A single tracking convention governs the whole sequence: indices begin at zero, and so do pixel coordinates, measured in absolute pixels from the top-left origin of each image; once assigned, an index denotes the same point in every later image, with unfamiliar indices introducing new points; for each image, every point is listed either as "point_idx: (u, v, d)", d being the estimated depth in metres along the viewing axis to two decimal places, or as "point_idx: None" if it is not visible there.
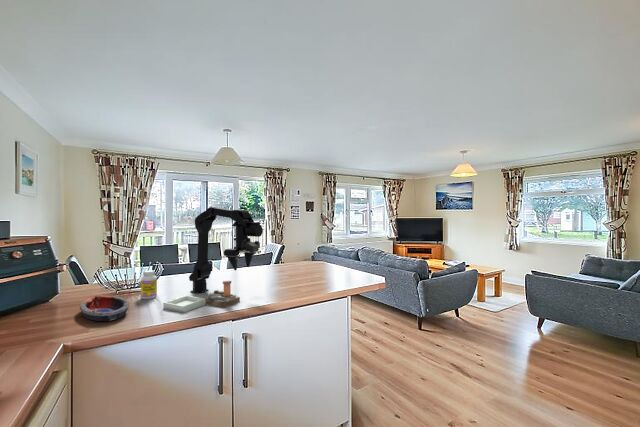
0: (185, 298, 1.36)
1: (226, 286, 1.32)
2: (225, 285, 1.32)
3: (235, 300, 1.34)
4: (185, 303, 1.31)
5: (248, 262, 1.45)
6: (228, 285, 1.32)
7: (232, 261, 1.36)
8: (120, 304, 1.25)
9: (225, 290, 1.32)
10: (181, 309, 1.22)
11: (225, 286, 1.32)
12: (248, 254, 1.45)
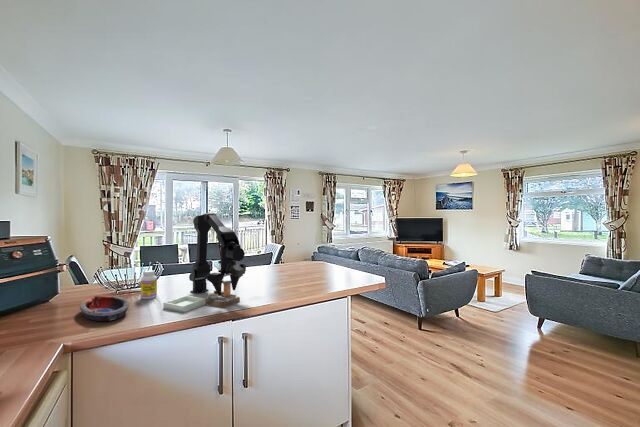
0: (185, 298, 1.36)
1: (226, 286, 1.32)
2: (225, 285, 1.32)
3: (235, 300, 1.34)
4: (185, 303, 1.31)
5: (234, 285, 1.37)
6: (228, 285, 1.32)
7: (216, 286, 1.28)
8: (120, 304, 1.25)
9: (225, 290, 1.32)
10: (181, 309, 1.22)
11: (225, 286, 1.32)
12: (234, 277, 1.38)
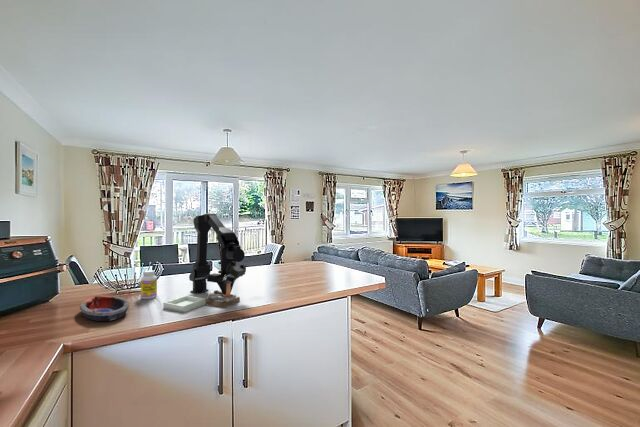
0: (185, 298, 1.36)
1: (226, 286, 1.32)
2: None
3: (235, 300, 1.34)
4: (185, 303, 1.31)
5: None
6: (228, 285, 1.32)
7: (221, 285, 1.31)
8: (120, 304, 1.25)
9: None
10: (181, 309, 1.22)
11: None
12: (230, 279, 1.35)
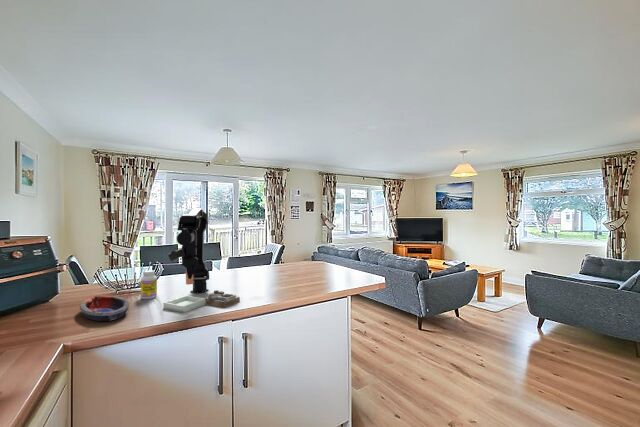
0: (185, 298, 1.36)
1: None
2: None
3: (235, 300, 1.34)
4: (185, 303, 1.31)
5: None
6: None
7: None
8: (120, 304, 1.25)
9: None
10: (181, 309, 1.22)
11: None
12: None
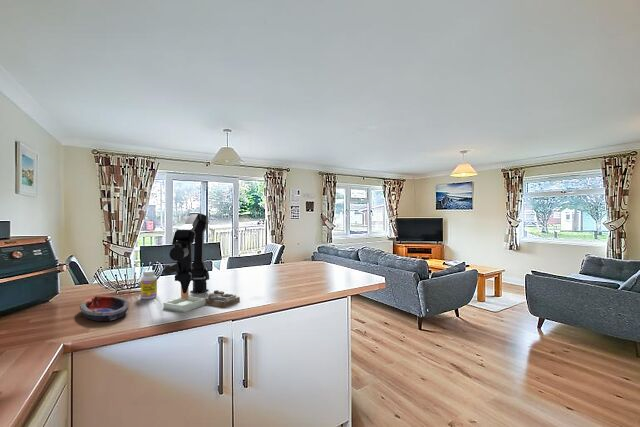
0: None
1: None
2: None
3: (235, 300, 1.34)
4: (185, 303, 1.31)
5: None
6: None
7: None
8: (120, 304, 1.25)
9: None
10: (181, 309, 1.22)
11: None
12: None
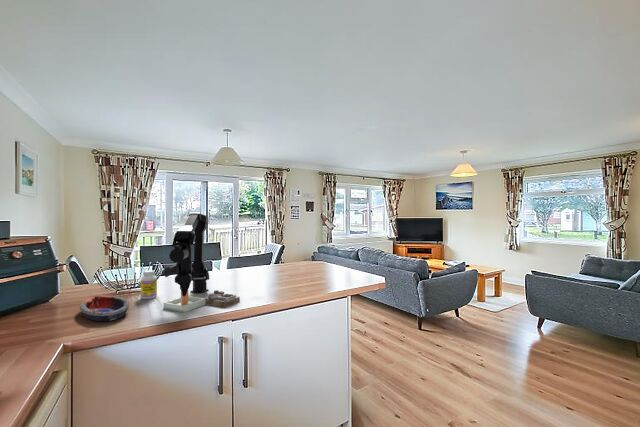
0: None
1: None
2: None
3: (235, 300, 1.34)
4: None
5: None
6: None
7: None
8: (120, 304, 1.25)
9: None
10: (181, 309, 1.22)
11: None
12: None
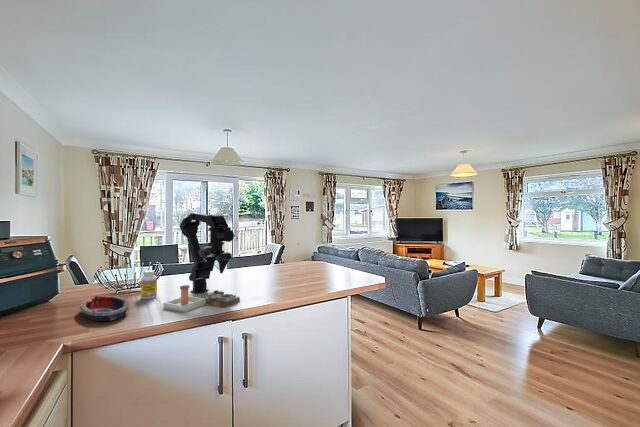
0: None
1: None
2: None
3: (235, 300, 1.34)
4: None
5: None
6: None
7: None
8: (120, 304, 1.25)
9: None
10: (181, 309, 1.22)
11: None
12: None
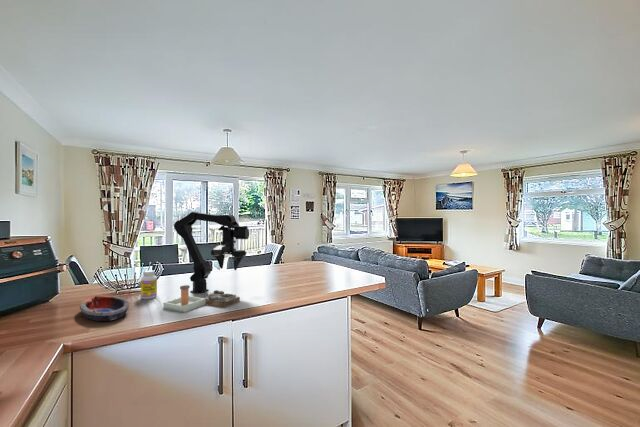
0: None
1: None
2: None
3: (235, 300, 1.34)
4: None
5: None
6: None
7: None
8: (120, 304, 1.25)
9: None
10: (181, 309, 1.22)
11: None
12: None
